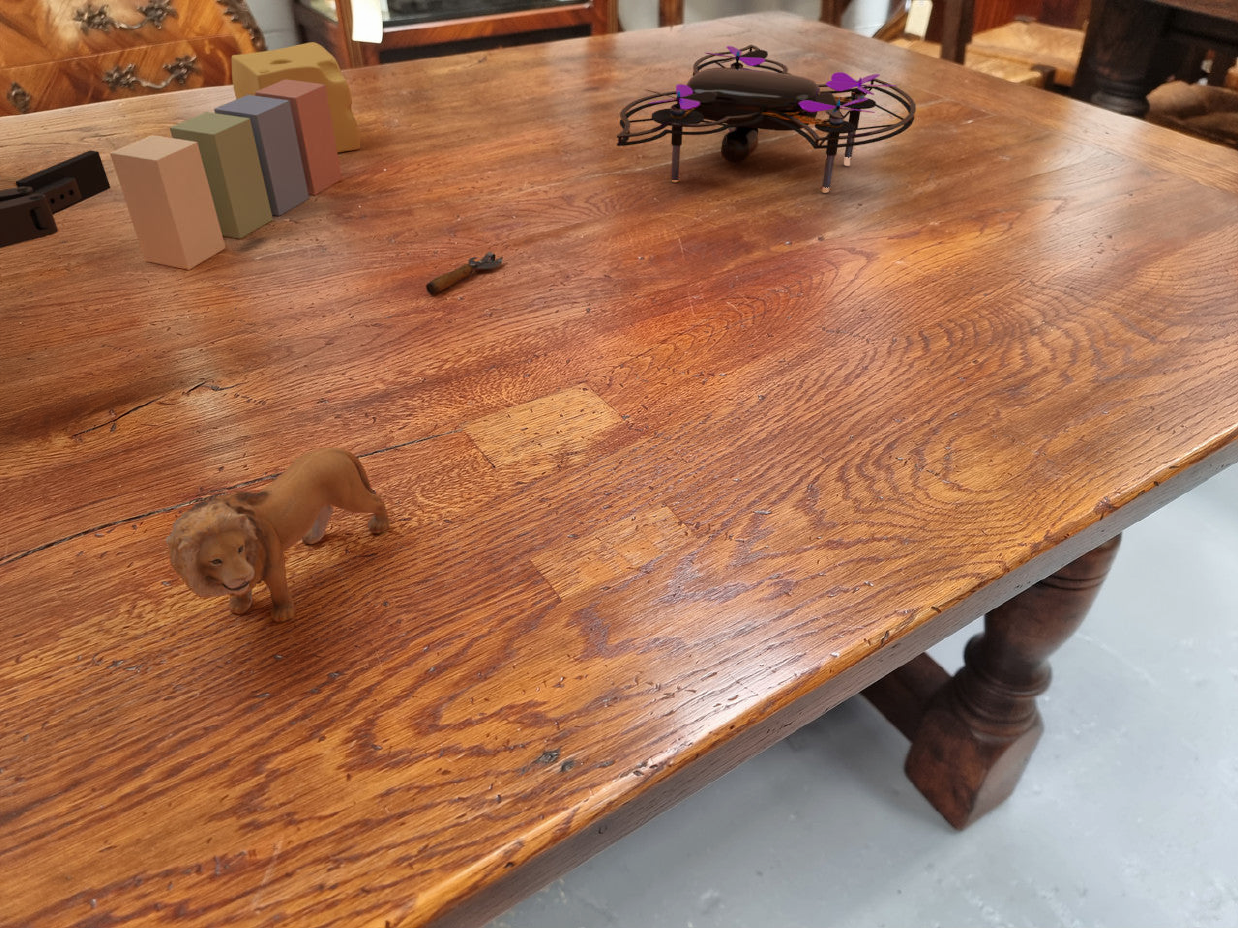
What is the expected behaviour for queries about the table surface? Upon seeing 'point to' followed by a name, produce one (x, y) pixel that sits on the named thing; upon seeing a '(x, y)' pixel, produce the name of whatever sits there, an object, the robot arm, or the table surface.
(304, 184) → the block
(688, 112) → the drone
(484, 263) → the can opener
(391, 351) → the table surface
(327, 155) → the block
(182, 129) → the block
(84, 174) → the robot arm
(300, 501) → the lion figurine
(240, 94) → the cheese
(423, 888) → the table surface
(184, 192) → the block
